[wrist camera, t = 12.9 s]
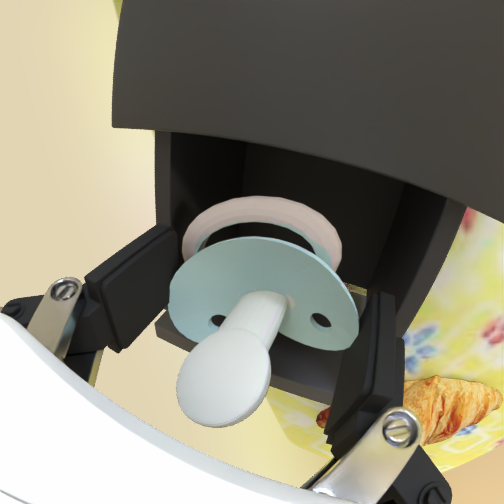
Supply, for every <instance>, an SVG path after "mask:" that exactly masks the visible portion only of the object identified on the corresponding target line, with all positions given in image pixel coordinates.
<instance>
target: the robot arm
mask: <svg viewBox="0 0 504 504" xmlns="http://www.w3.org/2000/svg"><path fill="white" fill-rule="evenodd" d="M178 270H179V265H178V240H177V233H176V232H175V230H174V228H173V227H171V226H168V225H164V224H161V223H159V224H157V225H155V226H154V227H152V228H151V229H149V230H148V231H147V232H145V233H144V234H142V235H141V236H139V237H138V238H137V239H135V240H134V241H132V242H131V243H129V244H128V245H126V246H125V247H124V248H122V249H121V250H119V251H118V252H117V253H115V254H114V255H113V256H111V257H110V258H108V259H107V260H106V261H104V262H103V263H102V264H100V265H99V266H98V267H96V268H95V269H94V270H92V271H91V272H90V273H88V274H87V275H86V276H85V277H84V278H85V282H86V283H84V284H83V285H82V283H81V282H80V280H78V279H77V278H73V277H65V278H61V279H59V280H57V281H55V282H54V283H53V284H51V286H50V287H49V288H48V290H47V292H46V293H45V295H39V296H31V297H24V298H17V299H13V300H10V301H9V302H8V303H7V304H6V305H5V306H4V307H3V308H2V307H0V504H451V500H452V491H451V488H450V486H449V484H448V482H447V481H446V480H445V478H444V477H443V475H442V474H441V473H440V471H439V470H438V469H437V467H436V466H435V465H434V463H433V462H432V461H431V459H430V458H429V457H428V455H427V454H426V453H425V451H424V450H423V449H422V447H421V446H420V445H419V443H420V441H421V438H422V432H423V429H422V424H421V421H420V420H419V418H418V416H417V415H416V414H415V413H414V412H413V411H411V410H409V409H407V408H404V407H403V398H404V371H405V345H404V340H403V339H402V338H399V337H396V313H395V296H394V295H391V294H388V293H385V292H382V291H379V292H378V293H377V294H373V293H372V294H371V296H370V298H369V300H368V302H367V304H366V307H365V309H364V311H363V313H362V315H361V317H360V319H359V333H358V336H357V337H356V338H355V340H354V341H353V343H352V344H351V346H350V347H349V348H346V349H344V352H343V357H342V361H341V366H340V371H339V375H338V379H337V384H336V388H335V392H334V396H333V400H332V404H331V407H330V411H329V415H328V418H327V422H326V426H325V429H324V434H326V435H328V438H327V441H326V443H327V444H331V445H332V448H331V452H332V454H333V456H334V457H333V458H332V459H331V460H329V461H328V462H327V463H326V464H325V465H324V466H323V467H322V468H321V469H320V470H319V471H318V472H317V473H316V474H315V475H314V476H312V477H311V478H310V479H309V480H308V481H307V482H306V483H305V484H303V485H302V486H301V487H300V488H297V487H293V486H290V485H287V484H283V483H280V482H277V481H274V480H271V479H268V478H265V477H262V476H259V475H256V474H253V473H250V472H248V471H245V470H242V469H240V468H237V467H234V466H232V465H229V464H227V463H224V462H222V461H220V460H217V459H215V458H213V457H210V456H208V455H206V454H204V453H202V452H200V451H197V450H195V449H193V448H191V447H189V446H187V445H185V444H183V443H181V442H179V441H177V440H175V439H173V438H172V437H170V436H168V435H166V434H164V433H163V432H161V431H159V430H157V429H156V428H154V427H152V426H150V425H149V424H147V423H145V422H144V421H142V420H140V419H139V418H137V417H135V416H134V415H132V414H131V413H129V412H128V411H126V410H125V409H123V408H122V407H120V406H119V405H117V404H116V403H114V402H113V401H111V400H110V399H109V398H107V397H106V396H104V395H103V394H101V393H100V392H99V391H98V390H96V389H95V388H94V386H95V381H96V378H97V373H98V370H99V366H100V362H101V358H102V355H103V350H104V348H105V347H106V346H107V345H108V347H109V348H110V349H112V350H113V351H115V352H116V353H120V351H121V350H122V349H123V348H124V349H126V348H128V347H129V346H130V344H132V342H133V341H134V340H135V339H136V338H137V337H138V336H139V335H140V334H141V333H142V332H143V330H144V329H145V328H146V327H147V326H148V325H149V324H150V322H152V321H153V320H154V318H155V317H156V316H157V315H158V314H159V313H160V312H161V311H162V310H163V309H164V308H165V307H166V306H167V305H168V304H169V298H170V283H171V281H172V279H173V277H174V275H175V273H176V272H177V271H178Z"/></svg>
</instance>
